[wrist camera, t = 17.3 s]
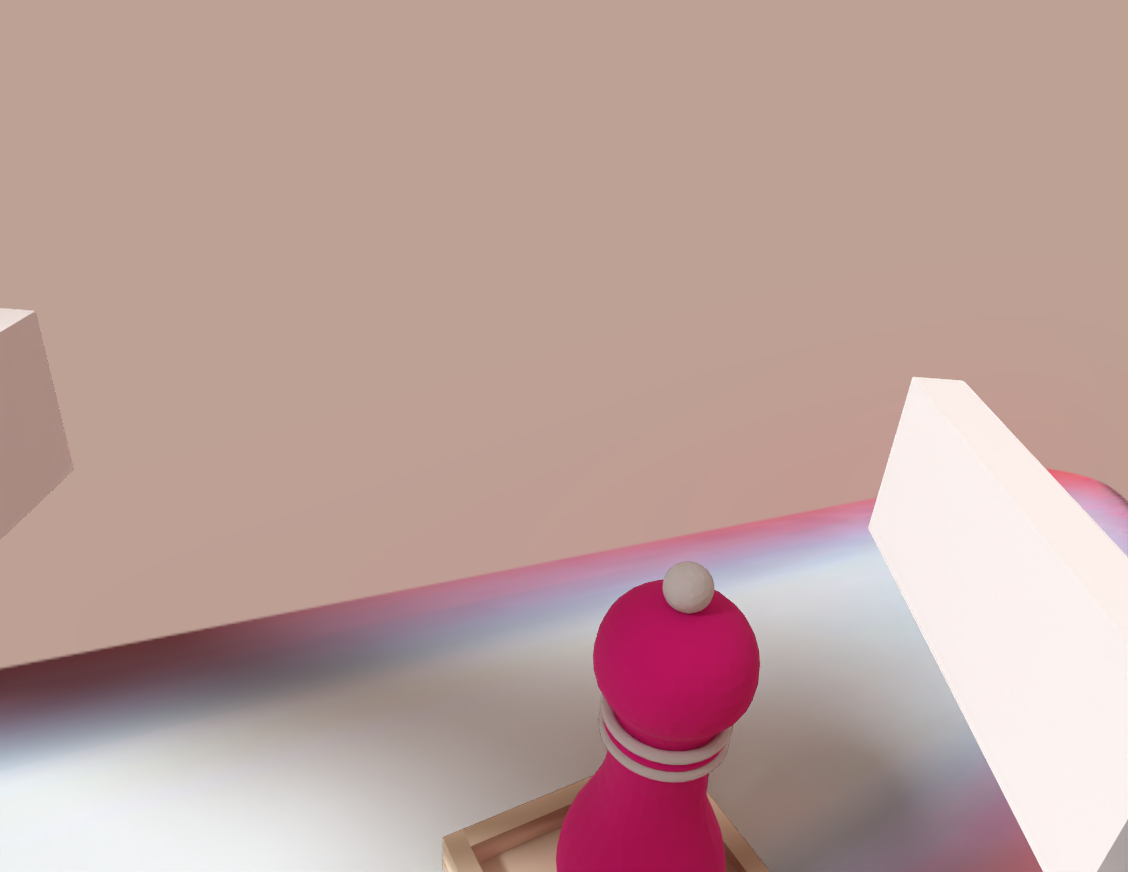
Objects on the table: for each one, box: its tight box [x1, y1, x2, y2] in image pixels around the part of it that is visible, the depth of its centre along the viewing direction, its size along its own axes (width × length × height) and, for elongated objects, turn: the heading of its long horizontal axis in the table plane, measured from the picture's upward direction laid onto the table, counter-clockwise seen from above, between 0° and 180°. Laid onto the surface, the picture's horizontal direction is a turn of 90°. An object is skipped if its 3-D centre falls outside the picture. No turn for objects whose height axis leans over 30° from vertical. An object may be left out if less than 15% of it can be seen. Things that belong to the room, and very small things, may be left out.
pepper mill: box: [556, 562, 760, 872], centre depth 34 cm, size 7×7×20 cm
